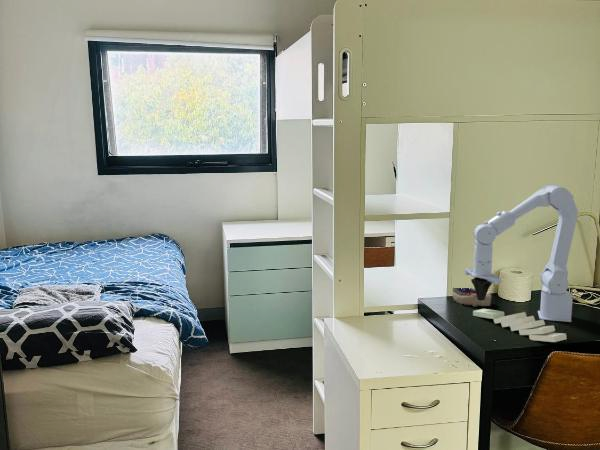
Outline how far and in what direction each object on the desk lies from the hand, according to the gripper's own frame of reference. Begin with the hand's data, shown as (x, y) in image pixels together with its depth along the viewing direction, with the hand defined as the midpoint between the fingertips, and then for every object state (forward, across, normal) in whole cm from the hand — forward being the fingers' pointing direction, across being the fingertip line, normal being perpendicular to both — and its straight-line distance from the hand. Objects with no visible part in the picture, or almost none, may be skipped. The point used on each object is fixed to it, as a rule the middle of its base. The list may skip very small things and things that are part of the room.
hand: (481, 299), depth 186 cm
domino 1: (+5, -1, 0) cm, 5 cm away
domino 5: (+5, +19, 0) cm, 19 cm away
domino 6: (+5, +23, 0) cm, 23 cm away
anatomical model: (+6, -12, +8) cm, 16 cm away
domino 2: (+4, +9, 0) cm, 10 cm away
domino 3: (+5, +12, 0) cm, 13 cm away
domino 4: (+5, +15, 0) cm, 16 cm away
